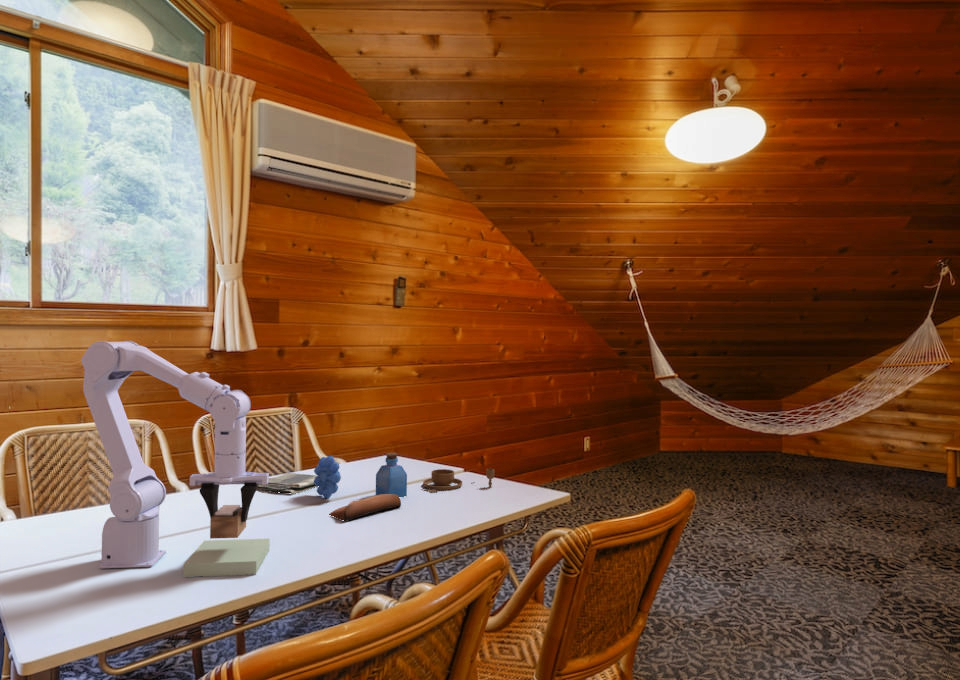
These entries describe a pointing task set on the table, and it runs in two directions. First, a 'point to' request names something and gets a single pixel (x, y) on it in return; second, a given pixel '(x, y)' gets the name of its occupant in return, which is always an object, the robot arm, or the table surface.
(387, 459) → the perfume bottle
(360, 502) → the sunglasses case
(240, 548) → the stand
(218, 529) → the brown box
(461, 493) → the table surface
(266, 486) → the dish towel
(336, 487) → the grapes
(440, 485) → the place setting
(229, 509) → the lid plate
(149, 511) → the robot arm
